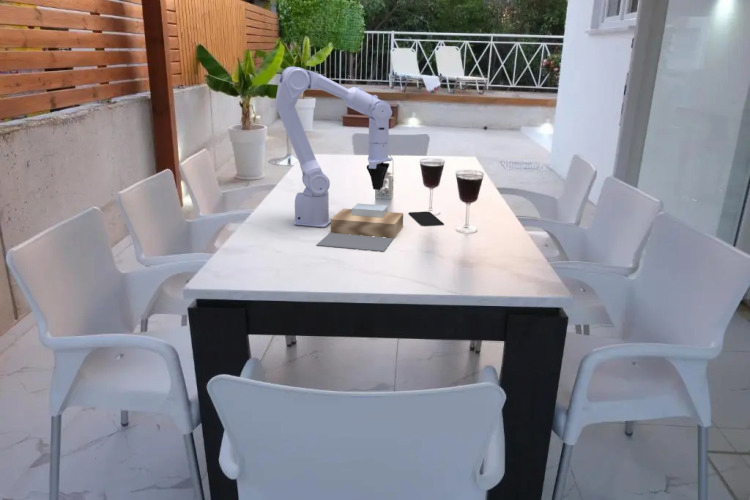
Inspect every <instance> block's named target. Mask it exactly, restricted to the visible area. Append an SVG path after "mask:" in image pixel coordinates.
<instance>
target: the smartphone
mask: <svg viewBox="0 0 750 500" xmlns="http://www.w3.org/2000/svg"><path fill="white" fill-rule="evenodd" d="M408 215H409V216H410V218H411V219H412V220H414V221H415V222H416V223H417V224H418V225H419V226H420V227H437V226H438V227H439V226H445V223H444V222H443V221H442V220H441V219H439V218H438V217H437V216H436V215H435V214H434V213H432V212H431V211H410V212H408Z"/></svg>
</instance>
